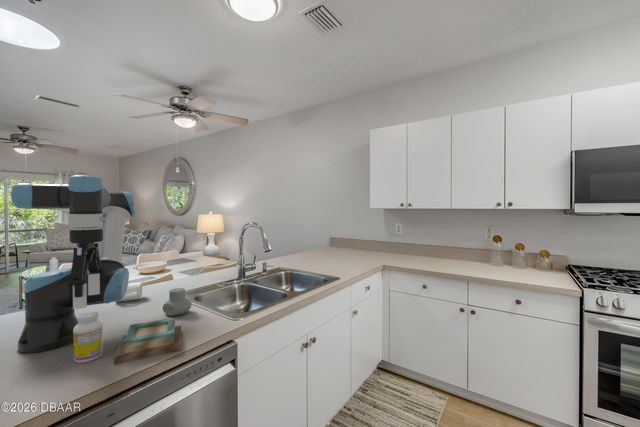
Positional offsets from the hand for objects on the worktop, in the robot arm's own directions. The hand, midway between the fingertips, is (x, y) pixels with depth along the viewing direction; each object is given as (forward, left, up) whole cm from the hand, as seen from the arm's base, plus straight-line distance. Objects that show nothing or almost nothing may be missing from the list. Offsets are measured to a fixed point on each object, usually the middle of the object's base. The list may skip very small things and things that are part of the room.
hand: (87, 301), depth 81 cm
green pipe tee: (+23, +27, -17) cm, 40 cm away
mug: (+2, +54, -17) cm, 57 cm away
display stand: (+16, 0, -17) cm, 23 cm away
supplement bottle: (0, 0, -17) cm, 17 cm away
